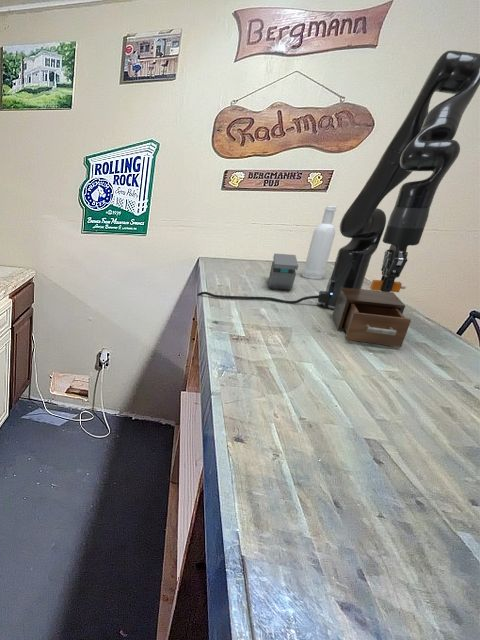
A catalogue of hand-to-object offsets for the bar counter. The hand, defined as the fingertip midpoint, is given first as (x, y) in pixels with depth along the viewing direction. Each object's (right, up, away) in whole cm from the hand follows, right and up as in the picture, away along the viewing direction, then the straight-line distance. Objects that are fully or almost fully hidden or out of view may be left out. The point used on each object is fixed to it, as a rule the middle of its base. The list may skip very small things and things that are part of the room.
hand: (384, 289), depth 125 cm
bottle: (+33, +17, +77) cm, 86 cm away
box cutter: (0, 0, 0) cm, 0 cm away
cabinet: (+7, -9, +17) cm, 20 cm away
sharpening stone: (+10, +11, +64) cm, 66 cm away
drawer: (0, -13, +5) cm, 14 cm away
